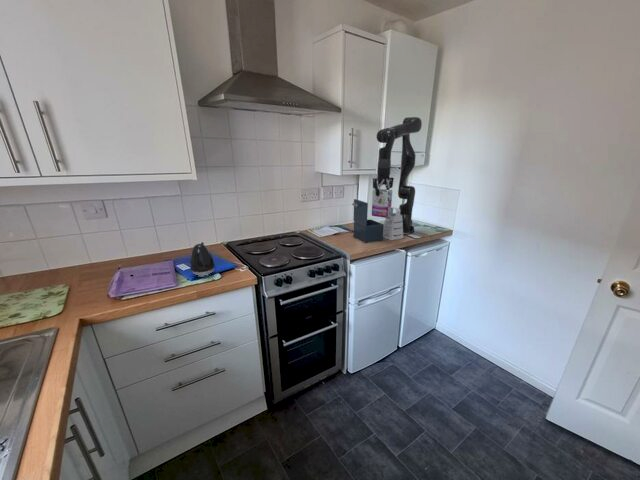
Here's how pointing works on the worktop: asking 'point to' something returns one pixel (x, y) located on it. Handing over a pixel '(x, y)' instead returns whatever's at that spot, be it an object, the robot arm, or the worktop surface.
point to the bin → (368, 231)
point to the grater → (393, 225)
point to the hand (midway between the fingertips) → (382, 195)
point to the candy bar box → (382, 203)
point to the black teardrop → (201, 261)
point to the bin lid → (360, 212)
